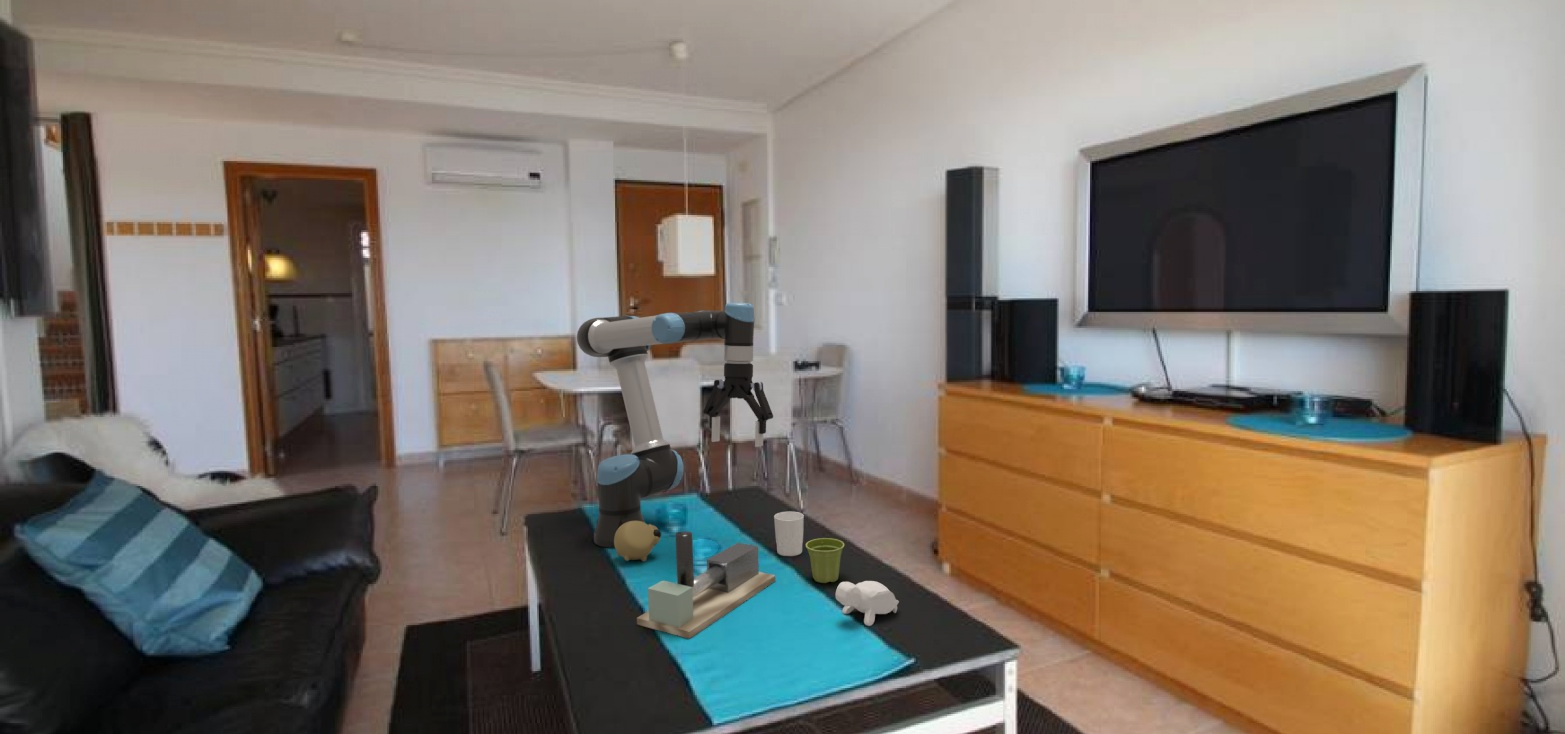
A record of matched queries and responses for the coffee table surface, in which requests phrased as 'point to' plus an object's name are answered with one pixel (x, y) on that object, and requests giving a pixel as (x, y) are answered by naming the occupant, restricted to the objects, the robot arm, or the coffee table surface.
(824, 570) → the plant pot
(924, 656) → the coffee table surface
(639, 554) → the toy pig
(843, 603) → the white turtle figurine
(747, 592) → the birch base board
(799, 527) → the white cup
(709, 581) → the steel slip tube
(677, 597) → the socket block
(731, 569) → the outer sleeve
